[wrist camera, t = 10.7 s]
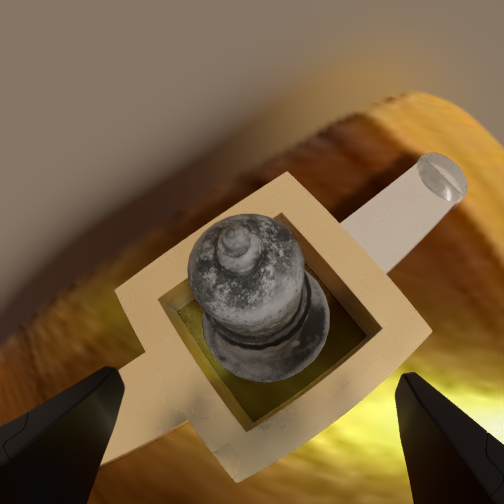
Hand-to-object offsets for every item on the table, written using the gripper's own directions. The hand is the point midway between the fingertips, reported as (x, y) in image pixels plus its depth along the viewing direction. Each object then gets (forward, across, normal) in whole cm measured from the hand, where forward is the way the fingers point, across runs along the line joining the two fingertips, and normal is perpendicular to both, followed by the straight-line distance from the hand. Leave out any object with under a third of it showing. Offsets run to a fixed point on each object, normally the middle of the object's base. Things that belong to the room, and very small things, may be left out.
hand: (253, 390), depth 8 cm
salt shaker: (+8, 0, +4) cm, 9 cm away
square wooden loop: (+5, +5, +6) cm, 9 cm away
